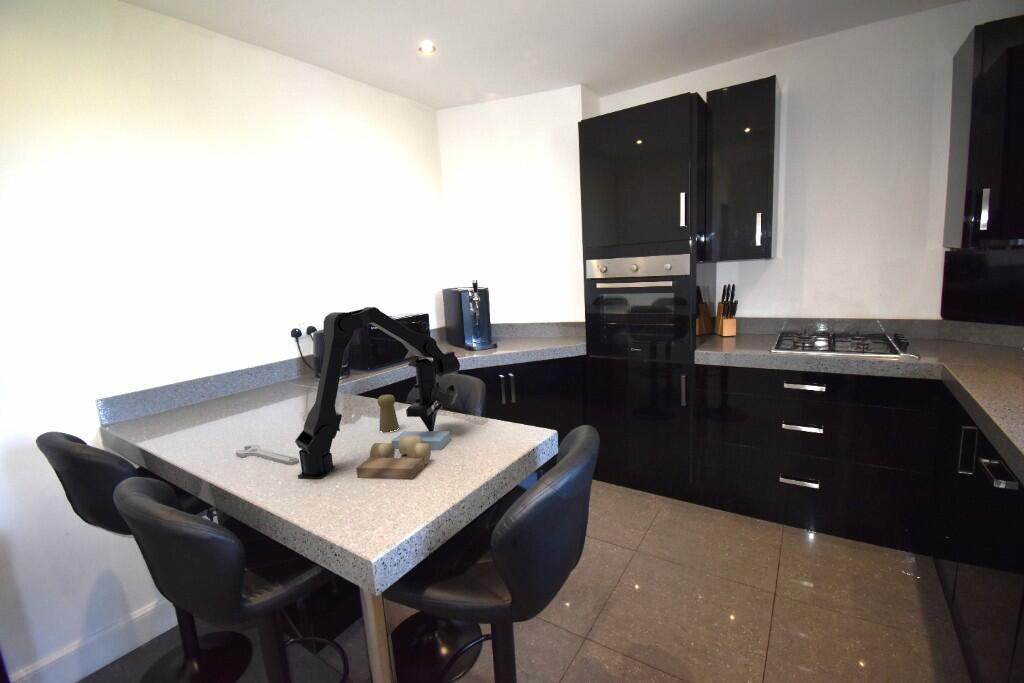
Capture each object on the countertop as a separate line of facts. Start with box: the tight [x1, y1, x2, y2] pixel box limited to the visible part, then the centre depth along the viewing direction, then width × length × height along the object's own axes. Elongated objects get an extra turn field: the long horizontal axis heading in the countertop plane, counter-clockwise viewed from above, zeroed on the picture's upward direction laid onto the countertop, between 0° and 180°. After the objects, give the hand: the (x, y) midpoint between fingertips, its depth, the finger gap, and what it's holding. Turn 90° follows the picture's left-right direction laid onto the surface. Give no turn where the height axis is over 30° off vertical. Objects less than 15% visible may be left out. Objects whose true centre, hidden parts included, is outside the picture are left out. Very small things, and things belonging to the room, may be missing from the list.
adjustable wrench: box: [235, 443, 300, 466], centre depth 125 cm, size 25×6×2 cm, turn 55°
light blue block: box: [391, 430, 452, 455], centre depth 124 cm, size 14×13×5 cm
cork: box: [377, 394, 400, 432], centre depth 141 cm, size 6×6×11 cm
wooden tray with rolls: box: [356, 442, 432, 480], centre depth 111 cm, size 14×11×5 cm
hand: (431, 431), depth 134 cm, fingers closed
